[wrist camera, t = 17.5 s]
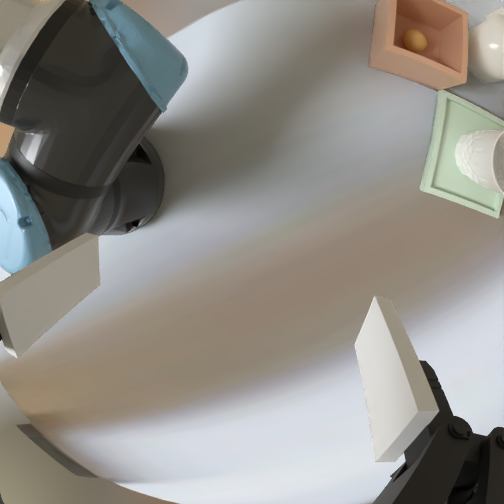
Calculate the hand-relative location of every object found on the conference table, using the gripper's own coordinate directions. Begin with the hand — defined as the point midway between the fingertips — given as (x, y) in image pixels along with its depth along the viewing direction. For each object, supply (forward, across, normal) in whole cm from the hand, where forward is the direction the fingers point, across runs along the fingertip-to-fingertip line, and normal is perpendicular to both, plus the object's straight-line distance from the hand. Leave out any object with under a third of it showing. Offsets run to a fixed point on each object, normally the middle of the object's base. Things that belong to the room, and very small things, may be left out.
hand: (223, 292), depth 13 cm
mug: (+27, -26, -29) cm, 47 cm away
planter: (+27, -14, -24) cm, 39 cm away
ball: (+24, -14, -24) cm, 37 cm away
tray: (+27, -26, -12) cm, 39 cm away
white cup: (+26, -26, -12) cm, 39 cm away
